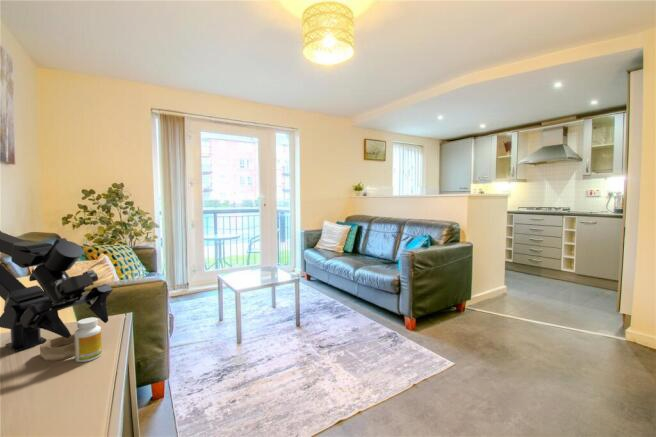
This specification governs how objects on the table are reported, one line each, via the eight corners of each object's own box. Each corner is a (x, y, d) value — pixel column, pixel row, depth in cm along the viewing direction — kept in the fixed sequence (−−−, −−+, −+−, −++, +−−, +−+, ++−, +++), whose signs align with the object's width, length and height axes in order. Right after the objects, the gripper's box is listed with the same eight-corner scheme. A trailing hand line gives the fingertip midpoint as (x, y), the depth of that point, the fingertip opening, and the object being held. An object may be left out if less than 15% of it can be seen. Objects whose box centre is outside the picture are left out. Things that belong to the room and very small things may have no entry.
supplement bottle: (107, 353, 78) (106, 317, 78) (85, 364, 73) (84, 326, 72) (91, 350, 80) (90, 314, 79) (69, 360, 75) (68, 323, 74)
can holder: (35, 355, 76) (35, 344, 76) (74, 341, 84) (74, 331, 84) (52, 364, 73) (51, 352, 72) (91, 348, 80) (91, 337, 80)
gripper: (25, 271, 67) (63, 325, 65) (107, 256, 85) (138, 297, 83) (4, 301, 70) (39, 354, 68) (87, 280, 88) (117, 321, 85)
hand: (89, 328), depth 76 cm, fingers open, 9 cm apart
